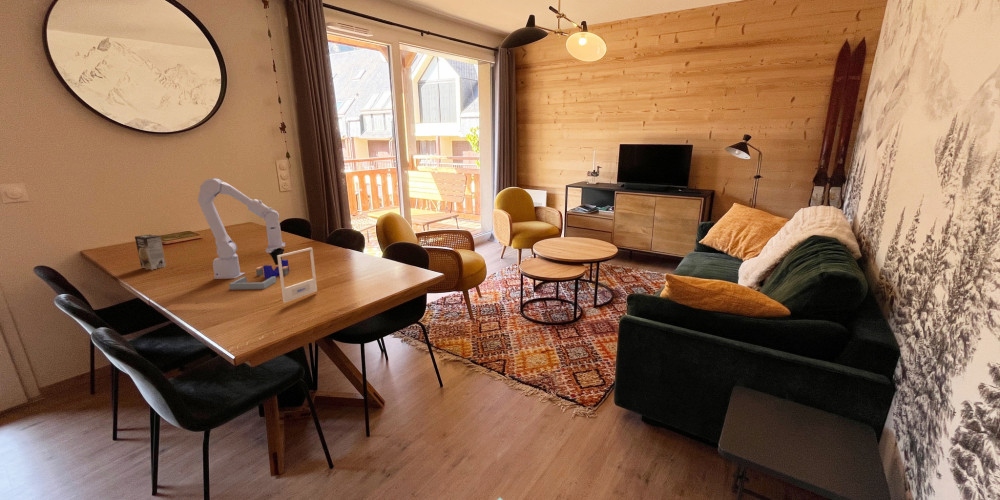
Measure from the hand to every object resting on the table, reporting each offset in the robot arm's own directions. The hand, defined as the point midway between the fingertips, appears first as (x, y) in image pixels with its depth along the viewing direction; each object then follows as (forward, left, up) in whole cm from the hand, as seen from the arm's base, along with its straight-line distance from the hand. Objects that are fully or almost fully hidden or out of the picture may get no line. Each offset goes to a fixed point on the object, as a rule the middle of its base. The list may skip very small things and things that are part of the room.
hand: (278, 264), depth 190 cm
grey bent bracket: (0, -22, -3) cm, 22 cm away
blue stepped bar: (+2, -6, -4) cm, 7 cm away
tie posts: (0, -6, -3) cm, 7 cm away
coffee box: (-65, +10, -4) cm, 66 cm away
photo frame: (+26, -37, -4) cm, 46 cm away
